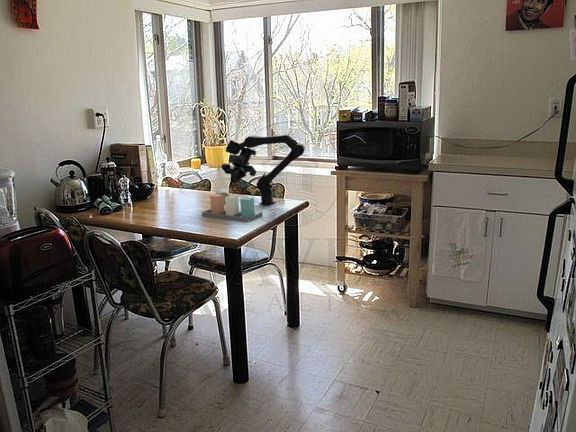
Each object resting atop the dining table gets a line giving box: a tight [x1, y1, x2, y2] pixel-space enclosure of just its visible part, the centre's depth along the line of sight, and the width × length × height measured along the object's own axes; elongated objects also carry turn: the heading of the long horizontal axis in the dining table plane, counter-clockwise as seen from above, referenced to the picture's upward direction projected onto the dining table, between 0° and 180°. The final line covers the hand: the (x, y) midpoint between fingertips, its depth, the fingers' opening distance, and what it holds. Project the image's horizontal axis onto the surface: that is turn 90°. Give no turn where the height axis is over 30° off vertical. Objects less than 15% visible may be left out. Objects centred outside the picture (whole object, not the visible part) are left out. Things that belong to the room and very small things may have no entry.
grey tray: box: [201, 208, 264, 223], centre depth 239 cm, size 14×30×3 cm, turn 59°
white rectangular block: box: [224, 195, 240, 216], centre depth 238 cm, size 4×5×9 cm
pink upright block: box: [209, 193, 226, 214], centre depth 243 cm, size 4×5×9 cm
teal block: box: [239, 196, 256, 220], centre depth 234 cm, size 4×5×9 cm
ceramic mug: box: [215, 187, 231, 204], centre depth 268 cm, size 11×8×8 cm
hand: (232, 183), depth 251 cm, fingers closed
